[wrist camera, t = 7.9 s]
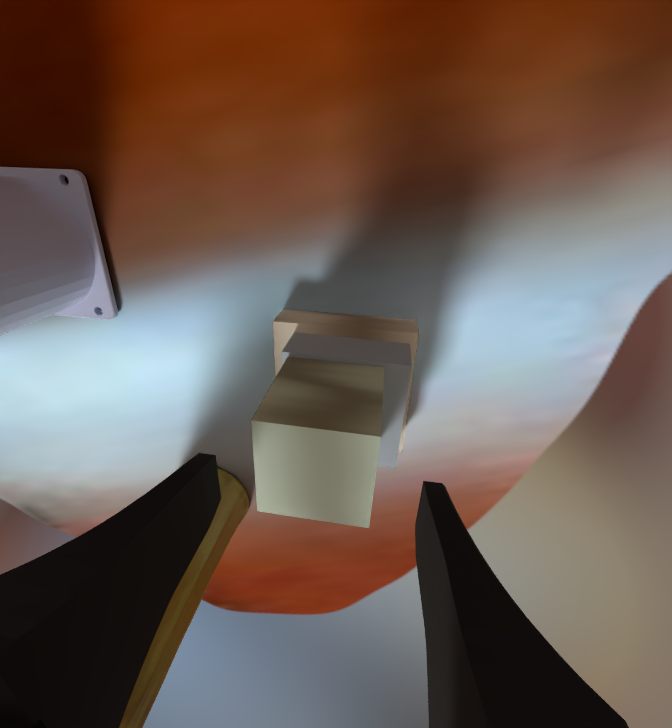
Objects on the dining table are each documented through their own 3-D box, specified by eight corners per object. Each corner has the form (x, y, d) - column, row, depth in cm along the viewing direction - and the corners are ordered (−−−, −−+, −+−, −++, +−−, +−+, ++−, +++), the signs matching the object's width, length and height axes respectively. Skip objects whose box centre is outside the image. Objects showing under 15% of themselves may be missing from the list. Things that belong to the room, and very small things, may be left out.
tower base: (288, 414, 25) (277, 437, 23) (285, 306, 22) (272, 321, 20) (401, 426, 24) (401, 451, 22) (416, 317, 21) (418, 333, 19)
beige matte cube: (288, 433, 20) (257, 511, 15) (287, 356, 17) (251, 420, 13) (374, 445, 19) (369, 527, 15) (384, 367, 17) (380, 436, 13)
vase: (223, 454, 27) (72, 701, 14) (264, 514, 29) (163, 775, 16) (158, 473, 29) (-29, 708, 16) (201, 528, 31) (66, 773, 18)
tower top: (294, 425, 22) (283, 452, 20) (294, 331, 20) (281, 351, 17) (395, 438, 22) (395, 468, 20) (409, 343, 19) (411, 365, 17)
